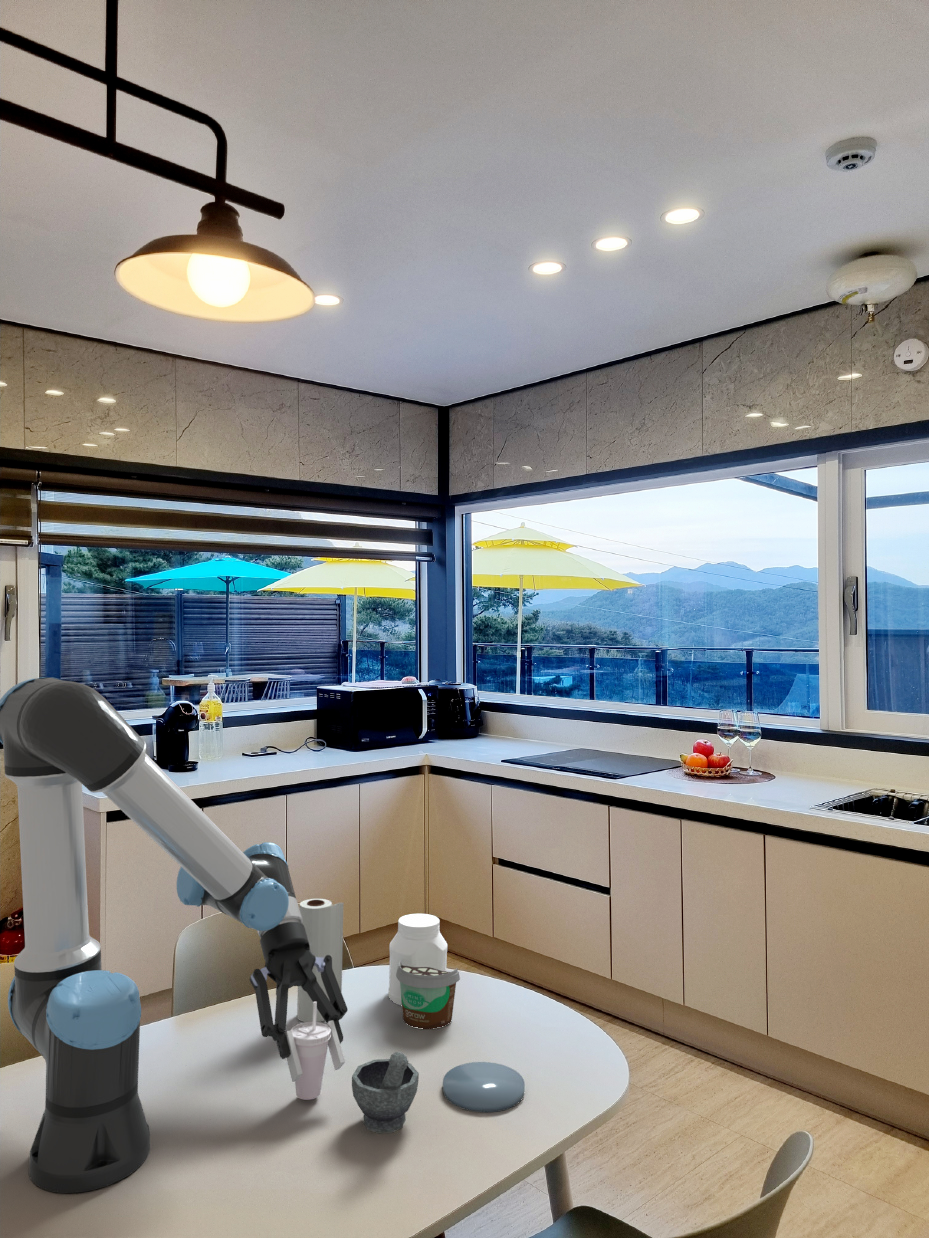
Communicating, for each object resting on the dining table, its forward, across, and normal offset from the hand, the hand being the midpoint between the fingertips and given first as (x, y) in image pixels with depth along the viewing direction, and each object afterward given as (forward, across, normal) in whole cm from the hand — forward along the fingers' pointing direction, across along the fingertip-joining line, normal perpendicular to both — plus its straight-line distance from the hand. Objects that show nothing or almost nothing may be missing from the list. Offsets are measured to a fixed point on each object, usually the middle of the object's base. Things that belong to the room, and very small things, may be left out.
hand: (319, 1071), depth 132 cm
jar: (-16, -34, -23) cm, 44 cm away
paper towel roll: (-16, -13, -25) cm, 32 cm away
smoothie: (+1, 0, -6) cm, 6 cm away
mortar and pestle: (+10, -7, +2) cm, 13 cm away
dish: (+10, -25, +2) cm, 27 cm away
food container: (-8, -28, -15) cm, 33 cm away
